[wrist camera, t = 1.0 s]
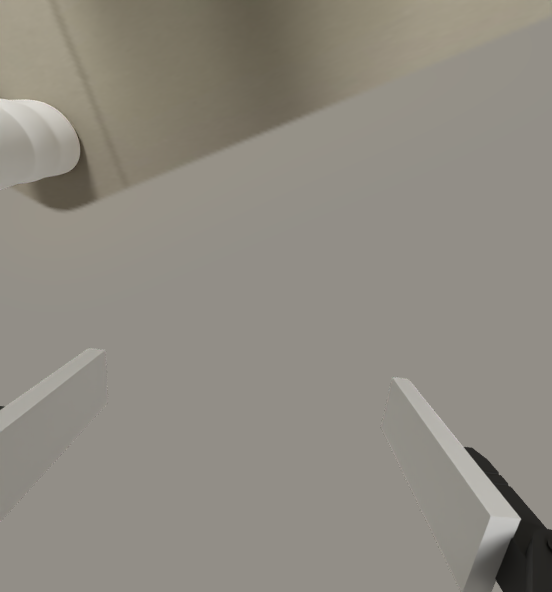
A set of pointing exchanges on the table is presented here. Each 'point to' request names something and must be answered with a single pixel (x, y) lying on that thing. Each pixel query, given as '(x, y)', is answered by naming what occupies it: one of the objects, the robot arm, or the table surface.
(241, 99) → the table surface
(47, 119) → the water bottle
